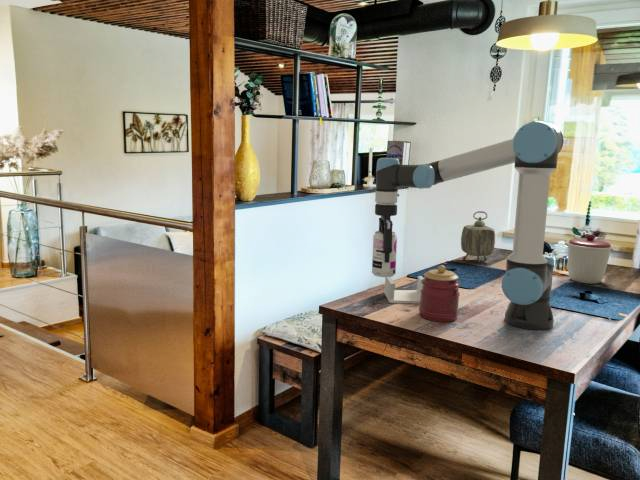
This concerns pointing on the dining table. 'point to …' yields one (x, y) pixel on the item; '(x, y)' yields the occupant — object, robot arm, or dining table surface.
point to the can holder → (402, 292)
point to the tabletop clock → (478, 239)
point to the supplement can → (378, 255)
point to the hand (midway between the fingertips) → (383, 268)
